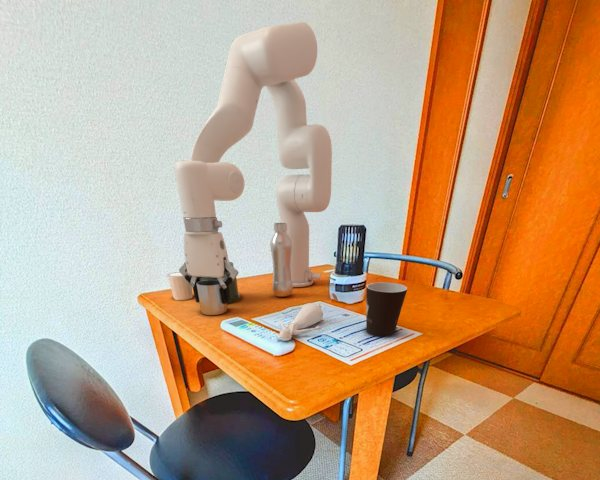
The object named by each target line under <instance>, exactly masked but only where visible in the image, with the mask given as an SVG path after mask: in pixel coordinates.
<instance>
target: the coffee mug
mask: <svg viewBox="0 0 600 480" xmlns="http://www.w3.org/2000/svg"><path fill="white" fill-rule="evenodd" d="M365 289H366V290H365V291H366V292H365V294H366V297H365V298H366V299H365V300H366V301H365V303H366V304H365V306H366V307H365V309H366V311H365V313H366V316H365V317H366V318H365V319H366V321H365V322H366V323H365V326H366V328H365V330H366V331H365V332H367V334H369V335H370V336H374V337H379V338H381V337H383V338H385V337H391V336H394V334H395V332H396V330H397V325H398V322H399V318H400V316H401V312H402V308H403V306H404V302H405V298H406V295H407V291H408V287H407V286H406V285H403V284H400V283H395V282H387V281H386V282H385V281H384V282H383V281H382V282H381V281H380V282H371V283H368V284H366V288H365Z"/></svg>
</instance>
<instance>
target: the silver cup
mask: <svg viewBox="0 0 600 480" xmlns="http://www.w3.org/2000/svg"><path fill="white" fill-rule="evenodd" d="M196 284H197V290H198V295H199V301H200V302H199V305H200V312H201V314H203V315H206V316H207V315H208V316H217V315H218V316H219V315H221V314H224V313H226V312H227V311H228V308H227V307H228V306H227V305H228V304H222V299H221V292H220V289H221V288H222V286H221V284H220V283H219V281H218V280H203V281H199V282H197V283H196Z"/></svg>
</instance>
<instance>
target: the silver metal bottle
mask: <svg viewBox="0 0 600 480" xmlns="http://www.w3.org/2000/svg"><path fill="white" fill-rule="evenodd" d="M273 231H274V234H273V235H272V237H271V240H270V243H269V248H270V254H271V261H272V282H271V290H272V294H273V295H274V296H275V297H280V298H281V297H283V298H284V297H289V296H291V295H292V293H293V290H294V289H293V288H294V287H293V285H292V280H291V270H290V263H291V250H292V242H291V240H290V238H289V236H288V235H287V233H286V231H287V224H286V223H280V222H274V223H273Z"/></svg>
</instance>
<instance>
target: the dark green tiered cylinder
mask: <svg viewBox="0 0 600 480" xmlns="http://www.w3.org/2000/svg"><path fill="white" fill-rule="evenodd" d="M229 263H230V264H231V265H232V266H233V267H234V263H233V261H229ZM229 276H230V273H229V274H226V277H227V278H228V277H229ZM203 280H218V279H217V278H210V277H201V279H200V281H203ZM238 289H239V287H238V278H237V277H236V278H235V279H234V281H233V282H232V283H231V284H230V286H229V292H230V300H229V302H228V303H226V305H228V304H232V303H236V302H238V301H239V300H240V299H241V293H240V292H239V290H238Z"/></svg>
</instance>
